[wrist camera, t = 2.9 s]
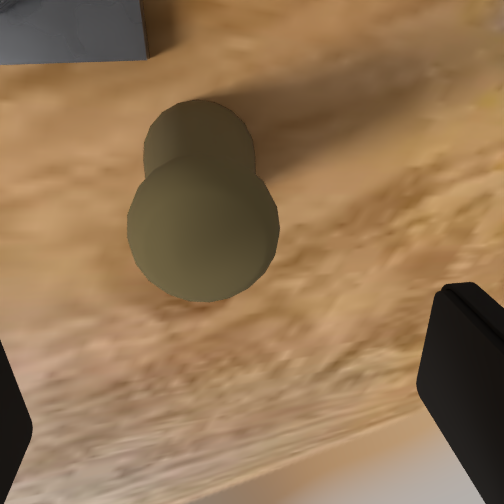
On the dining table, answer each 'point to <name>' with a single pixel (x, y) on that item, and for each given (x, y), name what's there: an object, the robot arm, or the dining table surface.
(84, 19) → the socket
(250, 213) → the olive game pawn
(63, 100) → the dining table surface
